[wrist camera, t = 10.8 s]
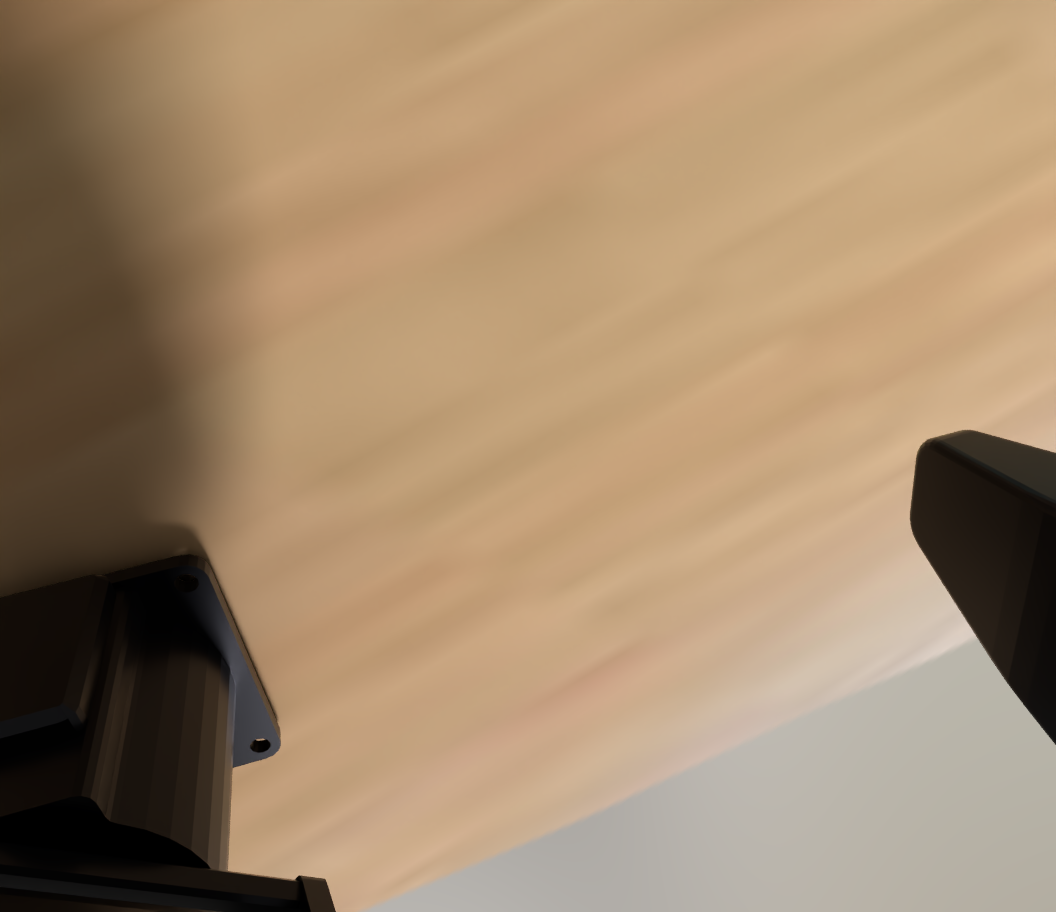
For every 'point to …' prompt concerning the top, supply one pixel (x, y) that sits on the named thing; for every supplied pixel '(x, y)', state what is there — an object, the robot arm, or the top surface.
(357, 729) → the top surface
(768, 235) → the top surface
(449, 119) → the top surface
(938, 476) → the robot arm
